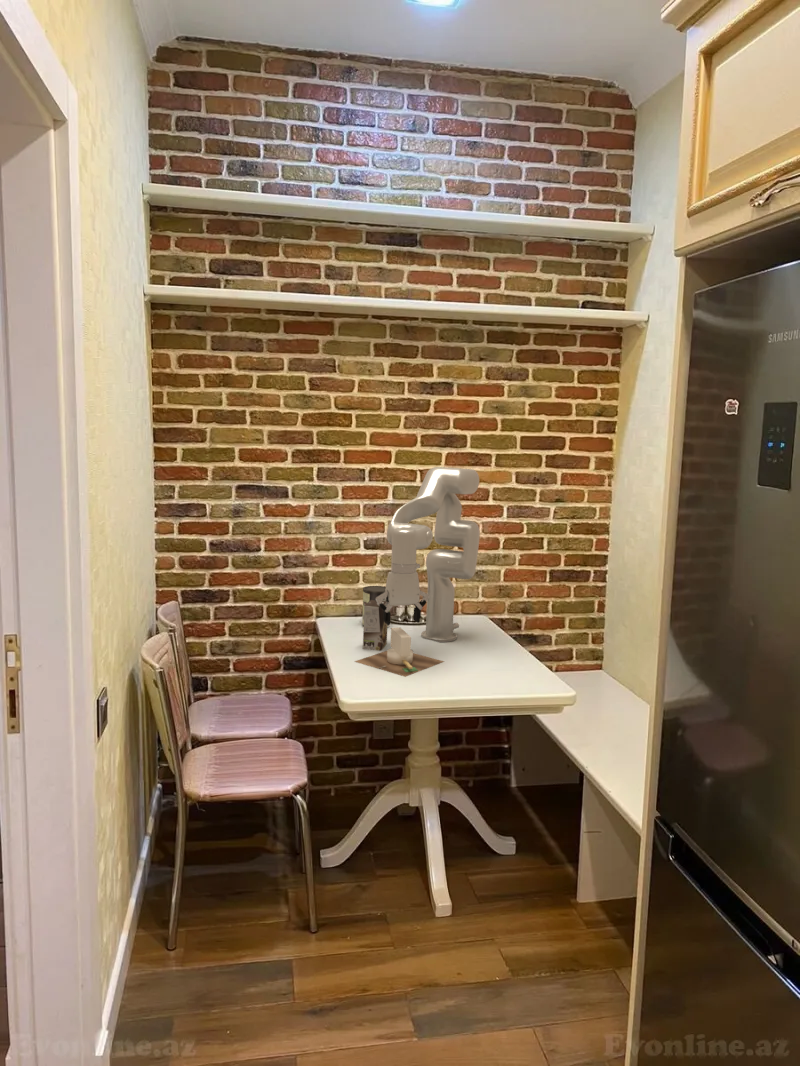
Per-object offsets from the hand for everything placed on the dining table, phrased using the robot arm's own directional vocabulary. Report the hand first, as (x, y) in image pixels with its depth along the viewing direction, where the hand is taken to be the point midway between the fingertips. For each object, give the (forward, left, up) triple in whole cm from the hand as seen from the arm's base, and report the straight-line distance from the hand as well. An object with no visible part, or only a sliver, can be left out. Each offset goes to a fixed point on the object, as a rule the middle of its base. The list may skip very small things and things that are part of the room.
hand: (402, 622), depth 233 cm
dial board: (+1, 0, -14) cm, 14 cm away
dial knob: (+2, +2, -12) cm, 12 cm away
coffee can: (-30, -36, -14) cm, 49 cm away
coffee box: (-6, -16, -14) cm, 22 cm away
